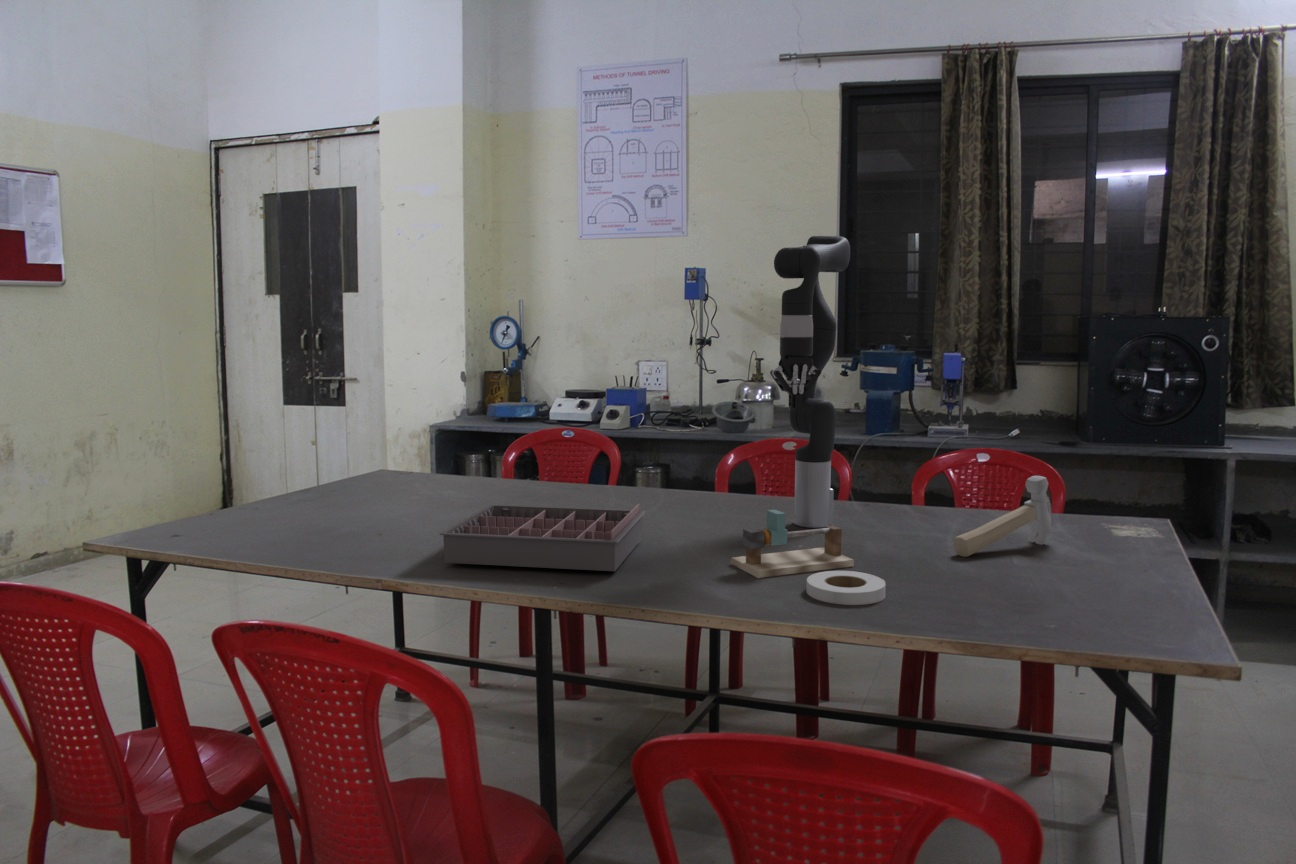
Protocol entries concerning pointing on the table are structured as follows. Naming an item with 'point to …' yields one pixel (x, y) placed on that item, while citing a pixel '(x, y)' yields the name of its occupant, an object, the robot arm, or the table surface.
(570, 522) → the organizer tray
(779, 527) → the teal stepped block
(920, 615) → the table surface
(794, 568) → the cable board
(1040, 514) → the hammer
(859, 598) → the roll of tape
